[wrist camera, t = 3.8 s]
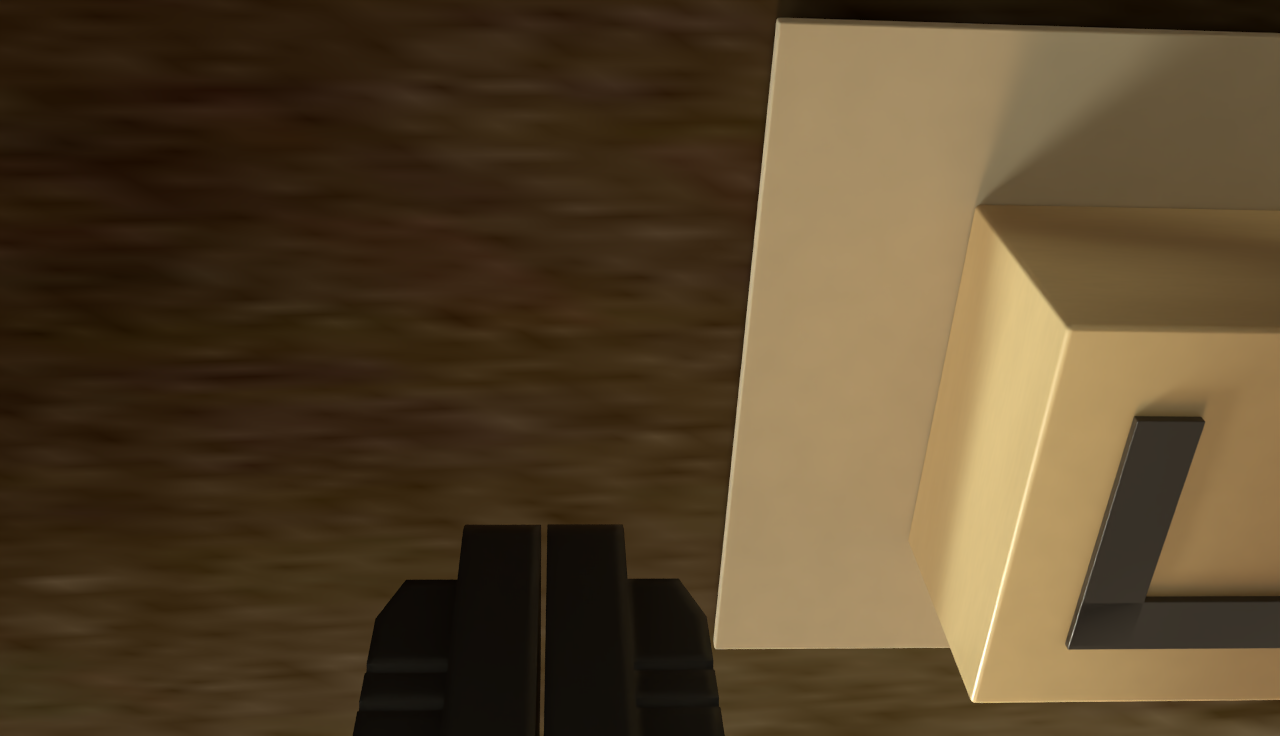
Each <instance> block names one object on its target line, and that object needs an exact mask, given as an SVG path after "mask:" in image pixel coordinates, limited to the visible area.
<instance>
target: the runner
mask: <svg viewBox="0 0 1280 736" xmlns="http://www.w3.org/2000/svg"><path fill="white" fill-rule="evenodd" d="M977 205H1024V206H1073V207H1123V208H1172V209H1221V210H1270V211H1280V33H1257V32H1225V31H1193V30H1161V29H1129V28H1097V27H1065V26H1033V25H1001V24H969V23H938V22H906V21H874V20H842V19H810V18H777V21H776V31H775V41H774V51H773V61H772V71H771V80H770V90H769V100H768V110H767V120H766V129H765V139H764V149H763V159H762V169H761V178H760V188H759V198H758V208H757V218H756V227H755V237H754V247H753V257H752V267H751V277H750V286H749V296H748V306H747V316H746V326H745V335H744V345H743V355H742V365H741V375H740V384H739V394H738V404H737V414H736V424H735V433H734V443H733V453H732V463H731V473H730V483H729V492H728V502H727V512H726V522H725V532H724V541H723V551H722V561H721V571H720V581H719V590H718V600H717V610H716V620H715V630H714V639H713V640H714V647H715V649H800V648H950V646H949V643H948V641H947V638H946V636H945V633H944V631H943V628H942V625H941V623H940V620H939V618H938V615H937V613H936V610H935V608H934V605H933V603H932V600H931V597H930V595H929V592H928V590H927V587H926V585H925V582H924V580H923V577H922V574H921V572H920V569H919V567H918V564H917V562H916V559H915V557H914V554H913V552H912V549H911V546H910V544H909V541H908V539H909V534H910V529H911V524H912V520H913V515H914V510H915V505H916V500H917V495H918V490H919V485H920V480H921V475H922V470H923V465H924V460H925V455H926V450H927V445H928V440H929V435H930V430H931V425H932V420H933V415H934V410H935V406H936V401H937V396H938V391H939V386H940V381H941V376H942V371H943V366H944V361H945V356H946V351H947V346H948V341H949V336H950V331H951V326H952V321H953V316H954V311H955V306H956V301H957V297H958V292H959V287H960V282H961V277H962V272H963V267H964V262H965V257H966V252H967V247H968V242H969V237H970V232H971V227H972V222H973V217H974V212H975V208H976V206H977Z"/></svg>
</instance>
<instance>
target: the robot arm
mask: <svg viewBox="0 0 1280 736" xmlns="http://www.w3.org/2000/svg"><path fill="white" fill-rule="evenodd" d="M540 671H541V525H465V526H464V530H463V537H462V545H461V554H460V563H459V572H458V580H406V581H405V582H404V583H403V584H402V586H401V587H400V588H399V590H398V591H397V592H396V593H395V595H394V596H393V597H392V599H391V600H390V601H389V602H388V604H387V605H386V606H385V607H384V609H383V610H382V611H381V613H380V614H379V615H378V616H377V618H376V619H375V624H374V629H373V635H372V640H371V645H370V650H369V655H368V660H367V672H366V673H365V675H364V681H363V686H362V691H361V696H360V701H359V711H357V716H356V721H355V727H354V732H353V736H539V730H540ZM544 736H725V735H724V729H723V722H722V715H721V709H720V707H719V696H718V689H717V682H716V676H715V670H713V656H712V649H711V643H710V636H709V630H708V623H707V617H706V615H705V614H704V613H703V611H702V610H701V608H700V607H699V606H698V604H697V603H696V602H695V600H694V599H693V598H692V596H691V595H690V593H689V592H688V591H687V589H686V588H685V587H684V585H683V584H682V583H681V581H680V580H679V579H627V567H626V553H625V539H624V528H623V525H548V530H547V588H546V647H545V706H544Z"/></svg>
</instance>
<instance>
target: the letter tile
mask: <svg viewBox="0 0 1280 736" xmlns="http://www.w3.org/2000/svg"><path fill="white" fill-rule="evenodd" d="M908 541H909V544H910V546H911V549H912V552H913V554H914V557H915V559H916V562H917V564H918V567H919V569H920V572H921V574H922V577H923V580H924V582H925V585H926V587H927V590H928V592H929V595H930V597H931V600H932V603H933V605H934V608H935V610H936V613H937V615H938V618H939V620H940V623H941V625H942V628H943V631H944V633H945V636H946V638H947V641H948V643H949V646H950V648H951V651H952V653H953V656H954V659H955V661H956V664H957V666H958V669H959V671H960V674H961V676H962V679H963V682H964V684H965V687H966V689H967V692H968V694H969V697H970V699H971V701H972V702H975V703H1002V702H1104V701H1207V700H1280V211H1270V210H1221V209H1172V208H1123V207H1073V206H1024V205H977V206H976V208H975V212H974V217H973V222H972V227H971V232H970V237H969V242H968V247H967V252H966V257H965V262H964V267H963V272H962V277H961V282H960V287H959V292H958V297H957V301H956V306H955V311H954V316H953V321H952V326H951V331H950V336H949V341H948V346H947V351H946V356H945V361H944V366H943V371H942V376H941V381H940V386H939V391H938V396H937V401H936V406H935V410H934V415H933V420H932V425H931V430H930V435H929V440H928V445H927V450H926V455H925V460H924V465H923V470H922V475H921V480H920V485H919V490H918V495H917V500H916V505H915V510H914V515H913V520H912V524H911V529H910V534H909V539H908Z"/></svg>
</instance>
